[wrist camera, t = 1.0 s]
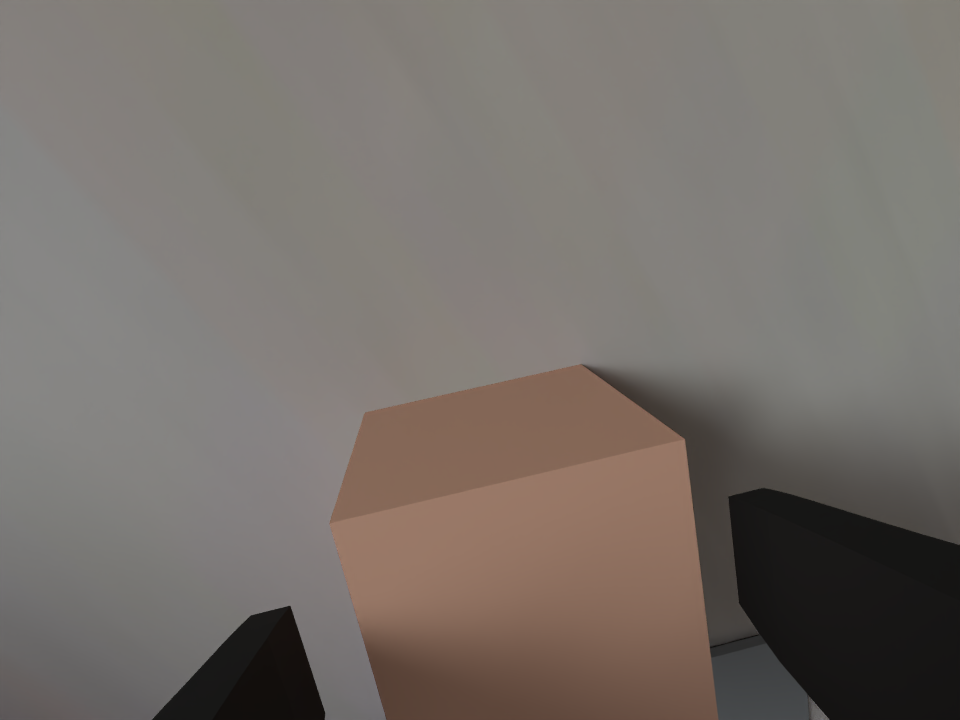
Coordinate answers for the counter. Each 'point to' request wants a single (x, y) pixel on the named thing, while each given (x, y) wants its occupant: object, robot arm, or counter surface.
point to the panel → (755, 683)
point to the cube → (526, 556)
